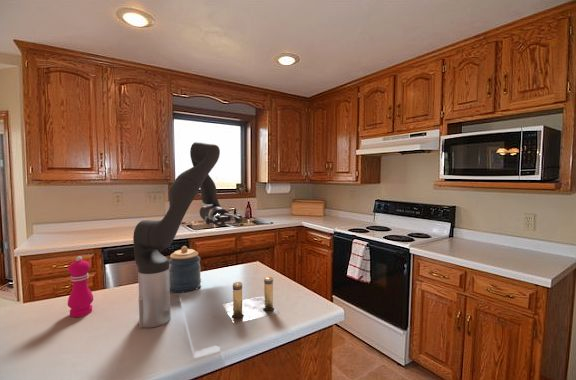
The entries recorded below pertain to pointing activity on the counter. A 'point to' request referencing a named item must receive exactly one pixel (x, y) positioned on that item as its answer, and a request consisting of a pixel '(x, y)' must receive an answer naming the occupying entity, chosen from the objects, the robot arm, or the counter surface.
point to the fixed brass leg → (268, 293)
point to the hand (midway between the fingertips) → (228, 221)
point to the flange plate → (250, 309)
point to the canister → (184, 270)
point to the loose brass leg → (237, 300)
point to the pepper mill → (80, 289)
